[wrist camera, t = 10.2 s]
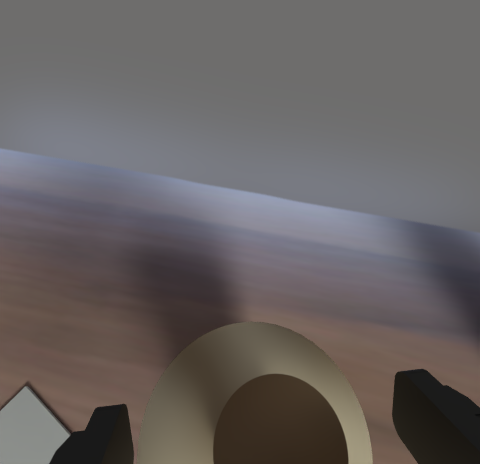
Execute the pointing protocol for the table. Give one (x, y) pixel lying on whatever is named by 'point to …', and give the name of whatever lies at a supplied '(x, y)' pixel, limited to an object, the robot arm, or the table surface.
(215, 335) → the lid
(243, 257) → the table surface
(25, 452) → the coaster
